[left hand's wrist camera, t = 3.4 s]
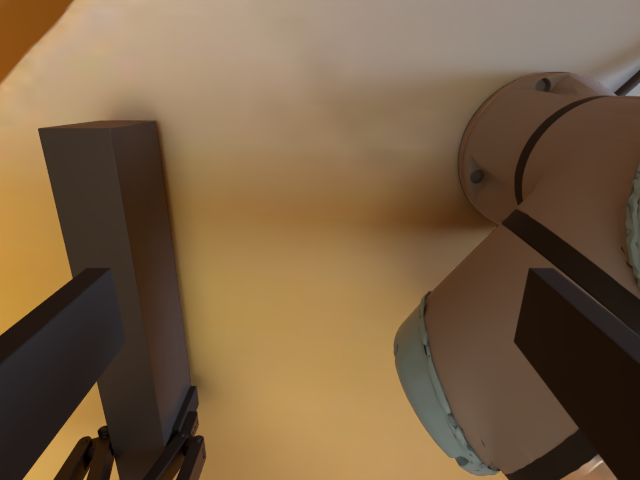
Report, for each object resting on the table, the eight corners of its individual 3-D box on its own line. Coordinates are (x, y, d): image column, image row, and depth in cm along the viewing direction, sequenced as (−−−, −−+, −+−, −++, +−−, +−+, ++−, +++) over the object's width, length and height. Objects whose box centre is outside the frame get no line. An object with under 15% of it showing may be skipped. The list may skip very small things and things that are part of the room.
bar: (99, 120, 38) (37, 128, 29) (155, 120, 38) (109, 128, 29) (153, 417, 50) (120, 483, 42) (195, 417, 50) (171, 483, 42)
